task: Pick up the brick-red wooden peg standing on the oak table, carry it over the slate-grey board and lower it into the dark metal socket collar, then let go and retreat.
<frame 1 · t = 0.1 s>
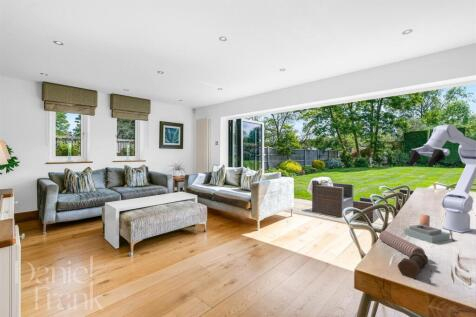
hand: (419, 164, 101), 32 cm above the table, fingers open, 7 cm apart
socket board: (426, 236, 103), on the table
bolt: (415, 270, 74), on the table
peg: (424, 229, 111), on the table
coil: (399, 250, 89), on the table
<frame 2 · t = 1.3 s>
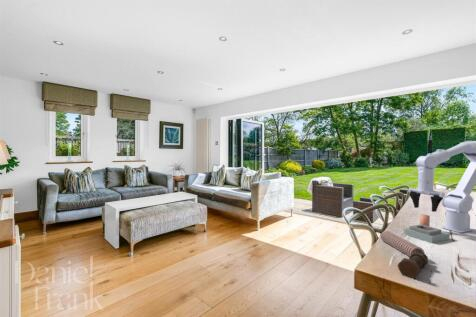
hand: (425, 209, 111), 10 cm above the table, fingers open, 7 cm apart
nothing on the table moved.
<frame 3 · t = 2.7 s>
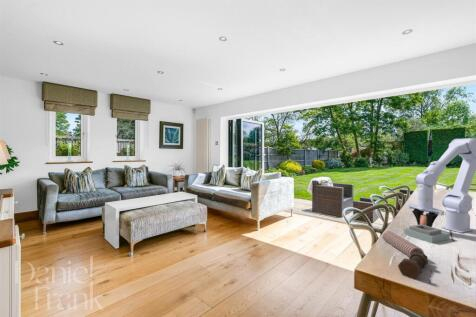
hand: (424, 226, 111), 2 cm above the table, fingers closed on peg, 4 cm apart
peg: (424, 229, 111), on the table, touching gripper
everything else where it was.
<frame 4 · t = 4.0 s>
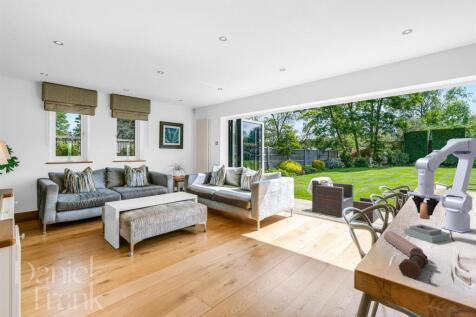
hand: (424, 214, 106), 9 cm above the table, fingers closed on peg, 4 cm apart
peg: (424, 218, 106), point 7 cm above the table, touching gripper
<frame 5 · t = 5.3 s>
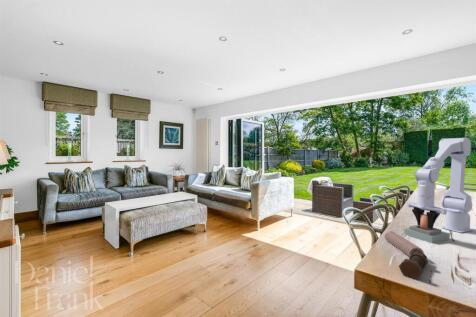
hand: (425, 226, 102), 5 cm above the table, fingers closed on peg, 3 cm apart
peg: (425, 230, 102), point 3 cm above the table, touching gripper
when the fingers open (5 cm above the table, at t = 5.5 s): peg drops 3 cm, resting in socket board.
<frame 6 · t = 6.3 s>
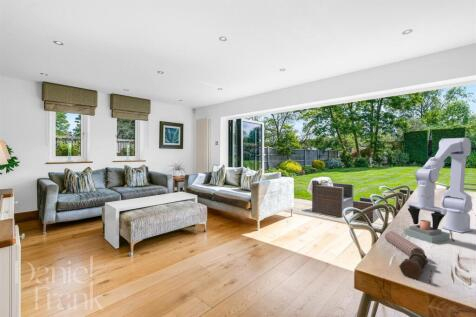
hand: (425, 226, 102), 5 cm above the table, fingers open, 7 cm apart
peg: (424, 236, 102), resting in socket board
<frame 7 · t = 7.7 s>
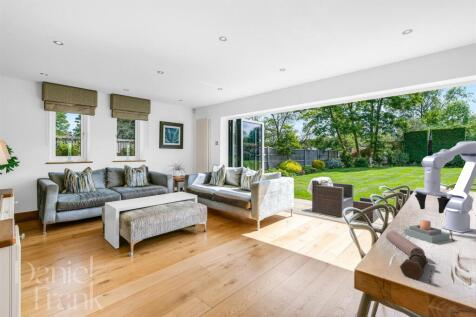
hand: (431, 211, 108), 10 cm above the table, fingers open, 7 cm apart
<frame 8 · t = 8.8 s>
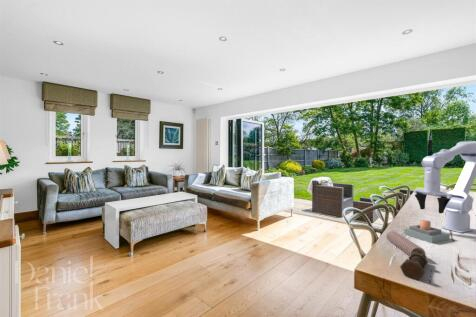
hand: (431, 211, 108), 10 cm above the table, fingers open, 7 cm apart
at the end: peg 0.0 cm from the target spot on the socket board, point 0.0 cm above the socket board's base; peg tilted 0°; the gripper is holding nothing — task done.
